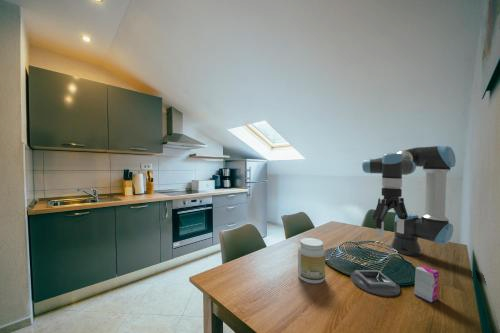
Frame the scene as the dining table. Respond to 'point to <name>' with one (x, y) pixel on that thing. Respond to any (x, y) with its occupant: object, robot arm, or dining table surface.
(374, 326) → the dining table surface
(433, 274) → the supplement box
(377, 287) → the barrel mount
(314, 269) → the supplement tub
